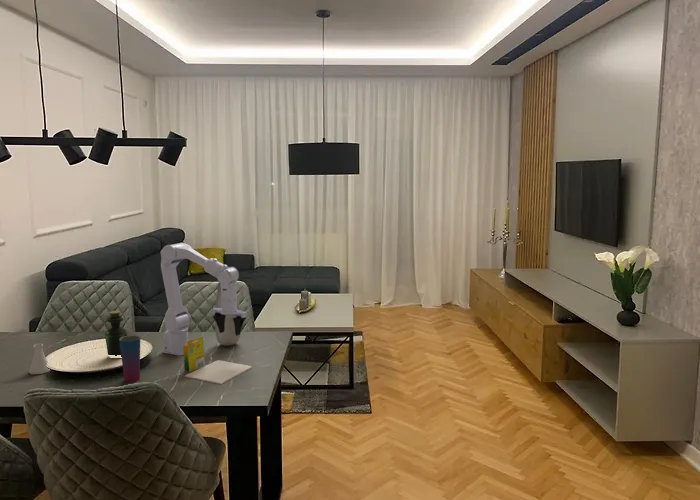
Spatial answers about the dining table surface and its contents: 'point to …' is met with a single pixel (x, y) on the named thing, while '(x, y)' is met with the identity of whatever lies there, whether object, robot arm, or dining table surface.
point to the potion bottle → (114, 333)
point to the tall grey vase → (226, 324)
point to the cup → (130, 357)
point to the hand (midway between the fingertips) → (229, 333)
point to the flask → (38, 361)
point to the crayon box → (194, 355)
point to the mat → (218, 372)
